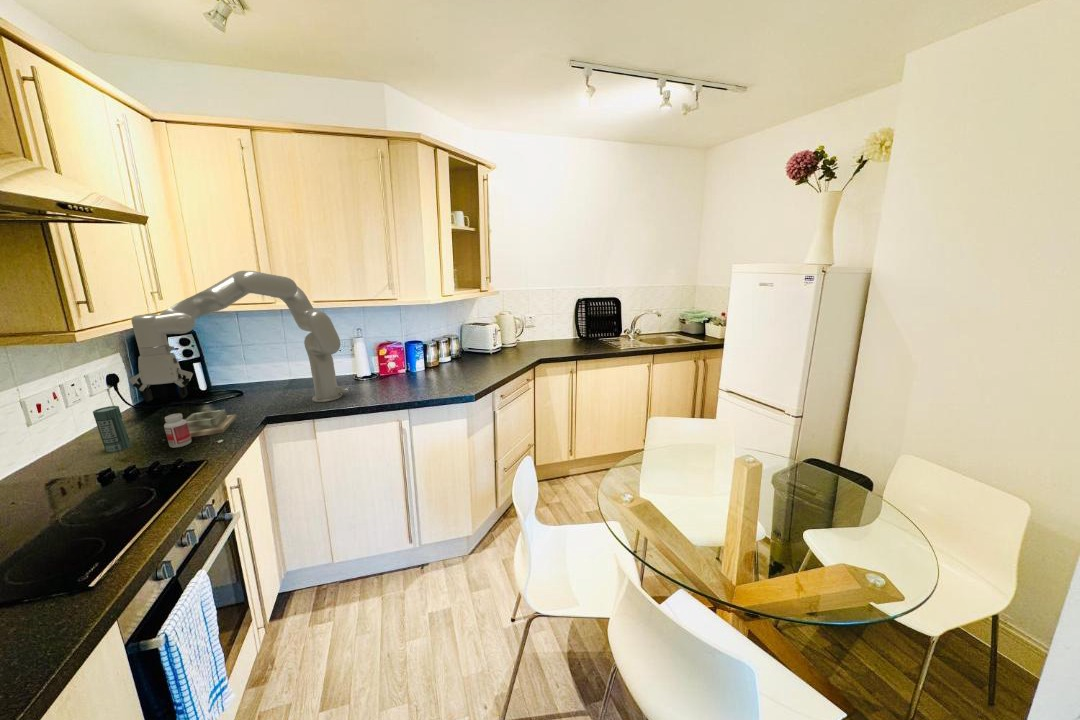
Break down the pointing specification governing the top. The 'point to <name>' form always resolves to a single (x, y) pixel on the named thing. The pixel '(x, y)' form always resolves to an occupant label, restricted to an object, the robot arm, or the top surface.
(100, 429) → the can
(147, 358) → the robot arm
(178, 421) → the pill bottle
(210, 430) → the socket board
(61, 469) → the top surface
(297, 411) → the top surface
